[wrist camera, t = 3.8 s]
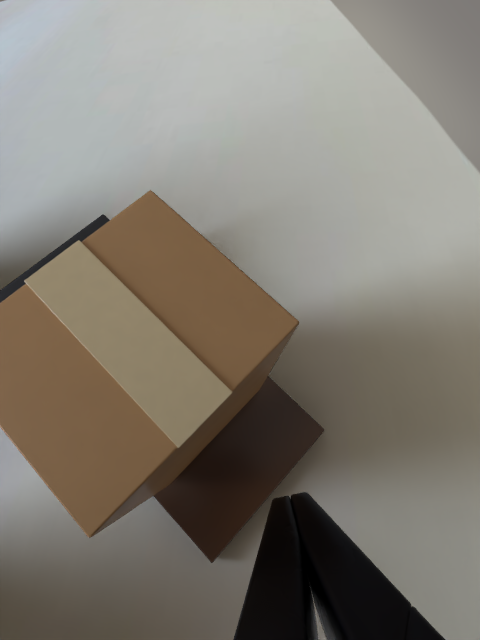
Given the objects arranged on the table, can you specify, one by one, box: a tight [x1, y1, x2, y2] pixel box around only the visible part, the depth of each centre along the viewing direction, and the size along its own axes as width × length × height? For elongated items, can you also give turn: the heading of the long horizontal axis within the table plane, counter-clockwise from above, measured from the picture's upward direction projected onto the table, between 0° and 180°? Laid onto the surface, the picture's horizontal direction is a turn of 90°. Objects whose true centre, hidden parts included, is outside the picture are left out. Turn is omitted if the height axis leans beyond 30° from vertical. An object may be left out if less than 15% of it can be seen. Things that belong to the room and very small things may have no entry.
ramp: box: [0, 215, 324, 562], centre depth 21 cm, size 19×9×6 cm, turn 45°
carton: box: [0, 190, 299, 538], centre depth 15 cm, size 8×7×13 cm
